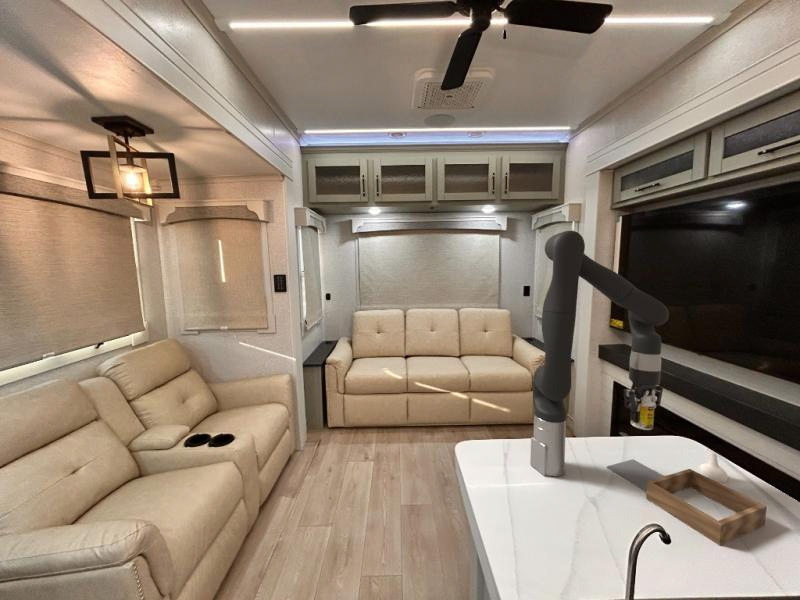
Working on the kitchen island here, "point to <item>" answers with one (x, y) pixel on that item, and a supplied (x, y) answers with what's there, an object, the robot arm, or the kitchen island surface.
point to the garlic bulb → (713, 470)
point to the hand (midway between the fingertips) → (641, 420)
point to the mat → (635, 472)
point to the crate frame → (718, 531)
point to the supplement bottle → (645, 414)
